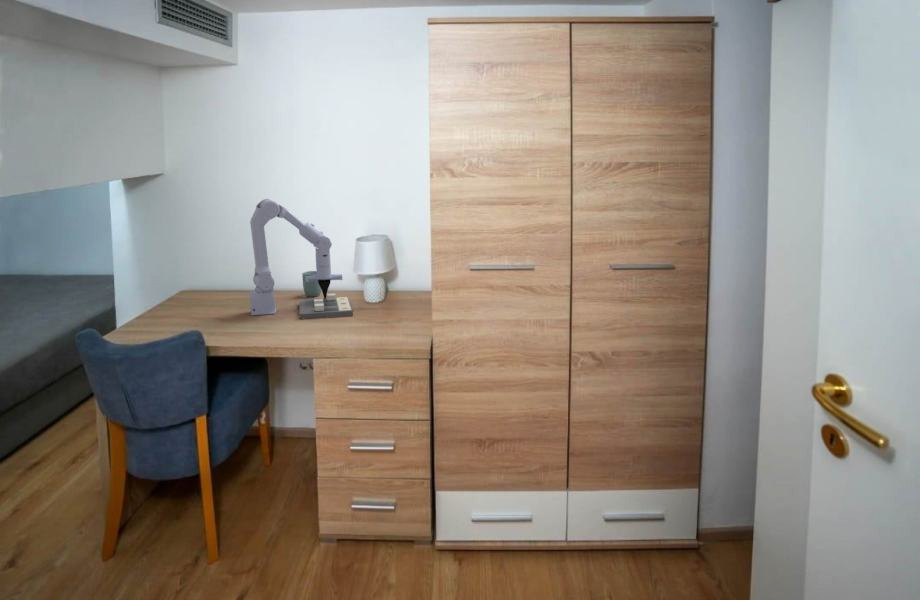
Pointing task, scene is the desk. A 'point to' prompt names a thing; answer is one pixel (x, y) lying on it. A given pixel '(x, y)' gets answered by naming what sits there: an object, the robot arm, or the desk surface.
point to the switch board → (326, 308)
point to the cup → (311, 285)
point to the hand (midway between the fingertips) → (325, 298)
